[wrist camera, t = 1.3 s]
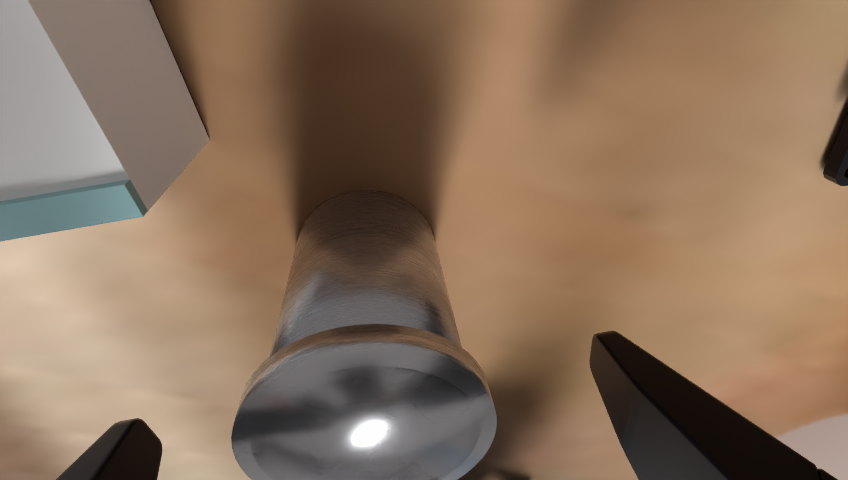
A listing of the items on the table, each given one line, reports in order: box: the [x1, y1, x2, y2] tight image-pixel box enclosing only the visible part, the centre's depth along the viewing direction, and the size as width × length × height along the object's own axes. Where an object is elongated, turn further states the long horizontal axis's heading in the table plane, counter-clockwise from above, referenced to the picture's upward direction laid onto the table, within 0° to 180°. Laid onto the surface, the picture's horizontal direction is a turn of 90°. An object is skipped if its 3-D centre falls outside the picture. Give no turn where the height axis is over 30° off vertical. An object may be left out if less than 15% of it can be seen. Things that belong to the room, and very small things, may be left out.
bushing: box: [231, 191, 497, 480], centre depth 10 cm, size 5×5×6 cm
